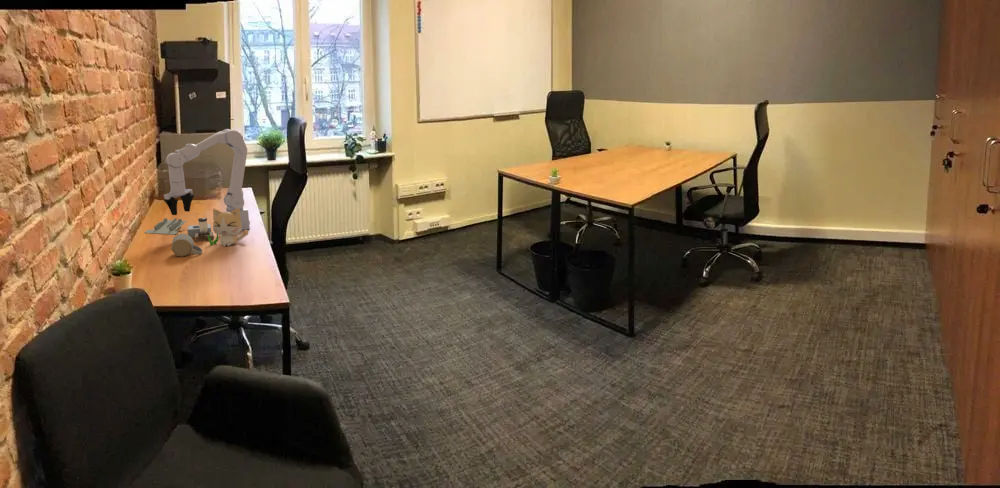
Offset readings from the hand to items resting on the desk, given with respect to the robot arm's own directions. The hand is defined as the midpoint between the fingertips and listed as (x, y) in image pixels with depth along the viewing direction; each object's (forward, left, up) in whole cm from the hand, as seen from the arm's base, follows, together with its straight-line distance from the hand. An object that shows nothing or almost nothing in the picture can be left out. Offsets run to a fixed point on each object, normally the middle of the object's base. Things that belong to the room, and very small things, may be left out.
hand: (180, 213), depth 298 cm
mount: (-9, +9, -10) cm, 16 cm away
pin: (-9, +9, -10) cm, 16 cm away
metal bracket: (+7, -12, -11) cm, 18 cm away
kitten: (-18, +23, -10) cm, 30 cm away
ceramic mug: (-3, +34, -10) cm, 35 cm away
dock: (-7, +1, -10) cm, 12 cm away
